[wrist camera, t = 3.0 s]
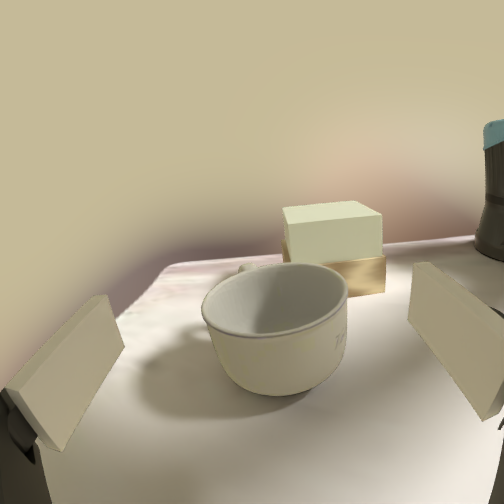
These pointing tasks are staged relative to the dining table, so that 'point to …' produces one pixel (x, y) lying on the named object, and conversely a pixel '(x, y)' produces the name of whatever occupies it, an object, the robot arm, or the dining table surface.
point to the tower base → (356, 273)
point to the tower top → (332, 232)
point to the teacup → (278, 326)
